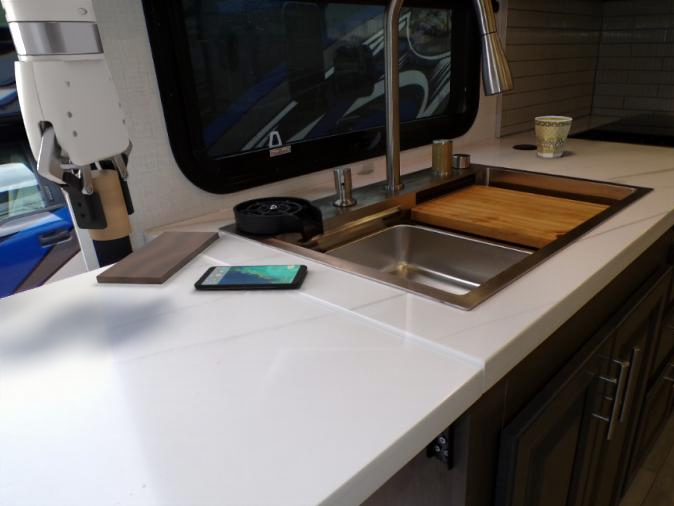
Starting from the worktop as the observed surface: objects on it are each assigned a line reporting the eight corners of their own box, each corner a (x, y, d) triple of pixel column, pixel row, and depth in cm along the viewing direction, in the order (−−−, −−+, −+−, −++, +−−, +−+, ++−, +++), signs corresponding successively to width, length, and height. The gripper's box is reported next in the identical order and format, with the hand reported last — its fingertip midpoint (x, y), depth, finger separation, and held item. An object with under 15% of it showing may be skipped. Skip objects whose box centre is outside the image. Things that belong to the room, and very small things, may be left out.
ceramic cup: (565, 159, 143) (569, 121, 138) (528, 157, 146) (531, 120, 142) (571, 151, 153) (575, 115, 149) (537, 149, 157) (540, 114, 152)
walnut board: (97, 282, 77) (95, 276, 76) (166, 236, 94) (165, 231, 94) (161, 284, 76) (160, 277, 75) (219, 237, 93) (218, 231, 93)
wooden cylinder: (81, 240, 59) (62, 178, 56) (105, 227, 63) (89, 169, 60) (117, 241, 59) (101, 178, 55) (139, 228, 62) (125, 169, 59)
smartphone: (210, 265, 79) (308, 264, 78) (211, 270, 79) (308, 268, 79) (191, 285, 73) (298, 284, 72) (192, 290, 73) (298, 288, 72)
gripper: (80, 43, 60) (120, 200, 68) (-50, 45, 45) (22, 246, 53) (142, 42, 59) (175, 201, 67) (31, 44, 44) (91, 248, 52)
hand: (107, 219), depth 60 cm, fingers closed on wooden cylinder, 4 cm apart
